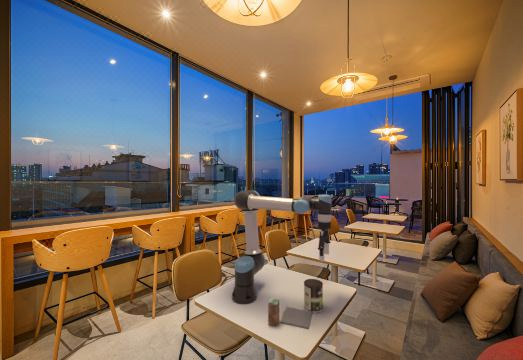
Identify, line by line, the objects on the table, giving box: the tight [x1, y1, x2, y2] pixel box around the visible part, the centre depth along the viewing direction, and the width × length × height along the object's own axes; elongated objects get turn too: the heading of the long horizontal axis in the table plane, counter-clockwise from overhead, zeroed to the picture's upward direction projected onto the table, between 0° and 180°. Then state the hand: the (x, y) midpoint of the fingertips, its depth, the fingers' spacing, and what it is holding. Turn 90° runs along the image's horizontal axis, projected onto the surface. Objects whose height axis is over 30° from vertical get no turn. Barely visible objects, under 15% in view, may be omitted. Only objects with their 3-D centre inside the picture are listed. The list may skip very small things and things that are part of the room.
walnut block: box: [267, 298, 280, 327], centre depth 115 cm, size 4×4×11 cm
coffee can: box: [303, 278, 324, 314], centre depth 129 cm, size 10×10×14 cm
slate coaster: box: [279, 306, 313, 330], centre depth 120 cm, size 14×14×1 cm
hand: (324, 257), depth 134 cm, fingers open, 13 cm apart
